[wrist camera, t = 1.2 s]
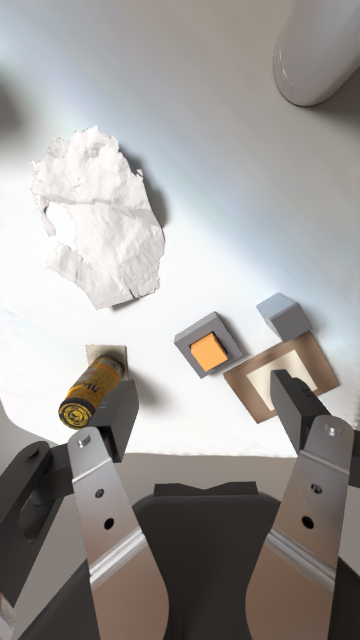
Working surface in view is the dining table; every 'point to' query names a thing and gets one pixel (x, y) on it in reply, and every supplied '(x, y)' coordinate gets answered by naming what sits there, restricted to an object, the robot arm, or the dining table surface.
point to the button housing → (202, 329)
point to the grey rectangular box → (284, 317)
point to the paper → (100, 218)
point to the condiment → (93, 384)
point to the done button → (208, 351)
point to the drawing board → (293, 356)
